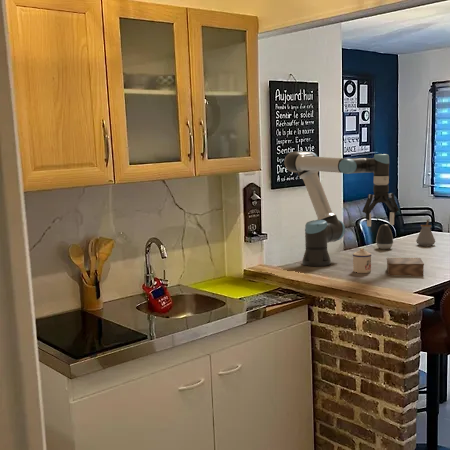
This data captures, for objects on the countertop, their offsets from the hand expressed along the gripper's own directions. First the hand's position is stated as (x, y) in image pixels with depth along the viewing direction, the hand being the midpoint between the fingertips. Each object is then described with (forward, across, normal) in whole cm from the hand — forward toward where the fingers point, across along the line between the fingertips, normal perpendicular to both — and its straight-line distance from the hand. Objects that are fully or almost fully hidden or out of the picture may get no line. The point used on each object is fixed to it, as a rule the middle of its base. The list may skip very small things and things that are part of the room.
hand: (380, 225), depth 302 cm
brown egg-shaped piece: (+22, +35, +49) cm, 64 cm away
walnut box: (+22, +2, -18) cm, 28 cm away
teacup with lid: (+22, -14, -6) cm, 27 cm away
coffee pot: (+22, +68, +51) cm, 88 cm away
